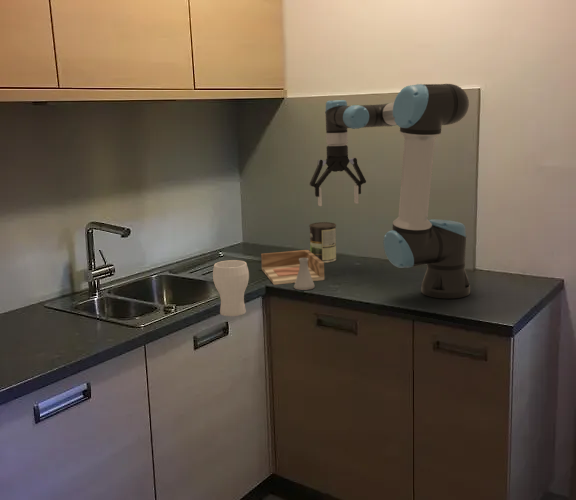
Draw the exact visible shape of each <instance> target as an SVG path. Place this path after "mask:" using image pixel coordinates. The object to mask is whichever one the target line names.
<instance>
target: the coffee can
mask: <svg viewBox="0 0 576 500" xmlns="http://www.w3.org/2000/svg"><path fill="white" fill-rule="evenodd" d="M308 227H309V243H310V247H309V248H310V249H309V251H310V252H311V253H313V254H314V255H315V256H316V257H318V258H319V259H320V260H321V261H323V262H324V264H327V263H333V262H335V261H337V242H336V241H337V240H336V239H337V236H336V234H337V233H336V232H337V230H336V227H337V224H336V223H334V222H327V221H326V222H325V221H323V222H313V223H310V224H309V225H308Z"/></svg>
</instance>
